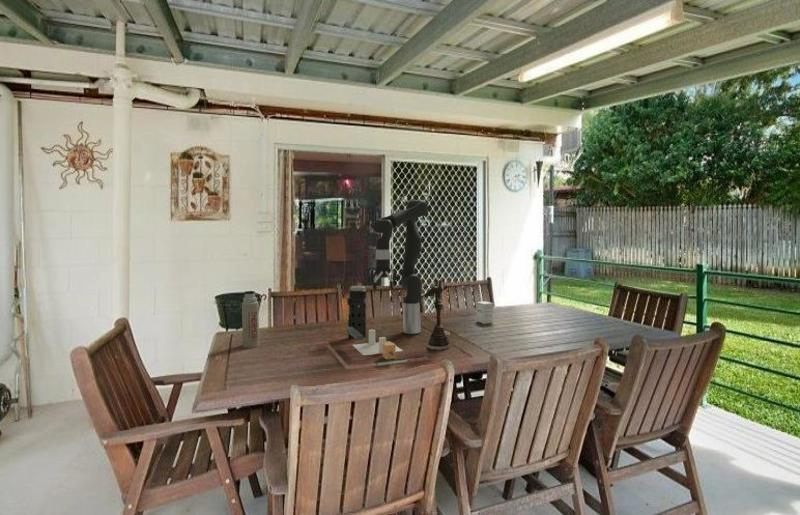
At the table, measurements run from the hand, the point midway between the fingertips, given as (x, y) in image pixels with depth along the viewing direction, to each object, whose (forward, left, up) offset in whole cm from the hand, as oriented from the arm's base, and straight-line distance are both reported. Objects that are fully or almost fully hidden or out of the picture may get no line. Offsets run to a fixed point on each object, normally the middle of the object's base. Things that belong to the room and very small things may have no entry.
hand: (382, 289), depth 239 cm
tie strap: (+20, +14, -19) cm, 31 cm away
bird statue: (-22, +16, -28) cm, 39 cm away
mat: (+8, +31, -28) cm, 43 cm away
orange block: (+8, +32, -27) cm, 43 cm away
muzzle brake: (+10, -14, -28) cm, 33 cm away
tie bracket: (+8, +14, -28) cm, 32 cm away
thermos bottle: (+65, -18, -28) cm, 73 cm away
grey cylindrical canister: (-75, -21, -28) cm, 83 cm away
